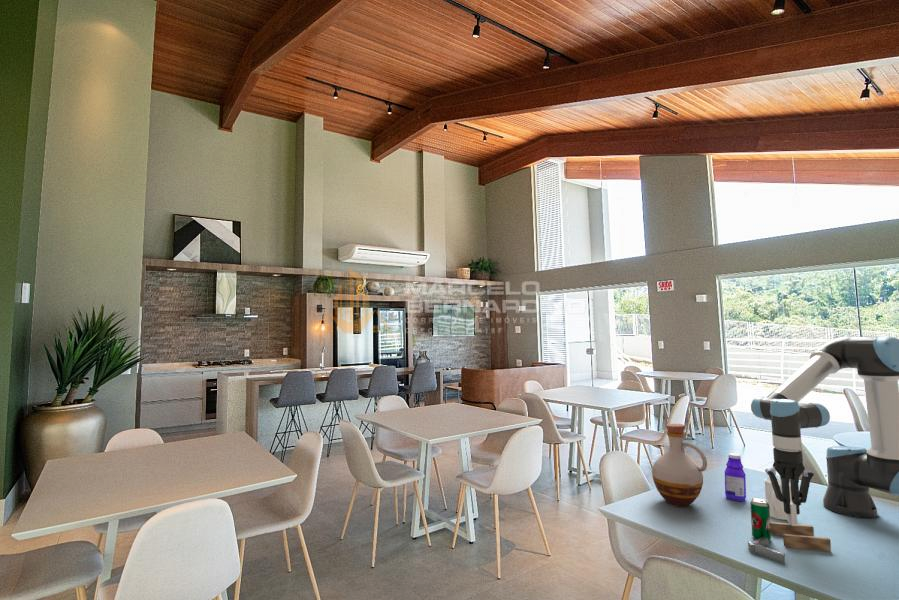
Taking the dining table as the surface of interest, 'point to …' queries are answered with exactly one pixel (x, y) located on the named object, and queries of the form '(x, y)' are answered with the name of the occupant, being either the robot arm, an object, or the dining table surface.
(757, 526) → the soda can
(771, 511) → the mug
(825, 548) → the guide channel
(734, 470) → the bottle
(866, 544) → the dining table surface
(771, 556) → the v block
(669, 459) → the jug
